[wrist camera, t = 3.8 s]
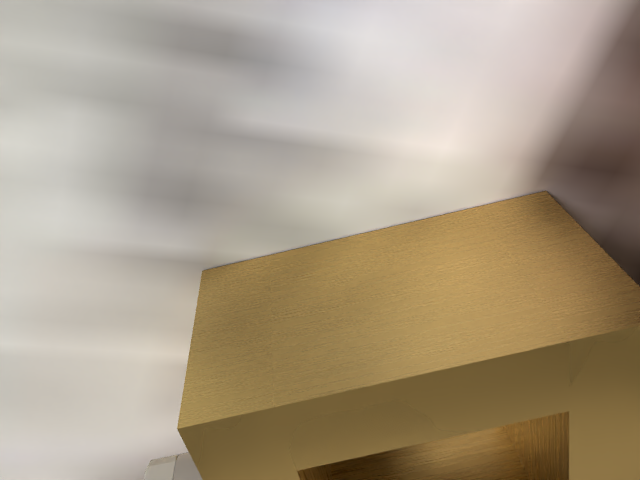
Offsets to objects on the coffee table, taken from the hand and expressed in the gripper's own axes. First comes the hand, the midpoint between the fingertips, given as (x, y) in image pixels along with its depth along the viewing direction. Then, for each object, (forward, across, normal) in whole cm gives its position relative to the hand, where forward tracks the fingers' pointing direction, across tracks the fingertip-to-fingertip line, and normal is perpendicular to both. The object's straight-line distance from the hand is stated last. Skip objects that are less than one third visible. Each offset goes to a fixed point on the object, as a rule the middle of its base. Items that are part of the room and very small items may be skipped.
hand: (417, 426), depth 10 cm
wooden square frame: (+2, 0, 0) cm, 2 cm away
